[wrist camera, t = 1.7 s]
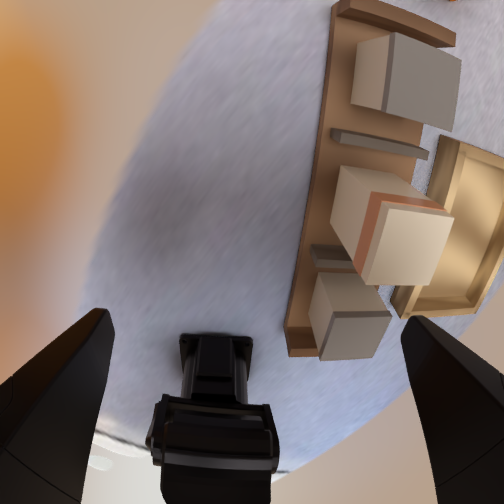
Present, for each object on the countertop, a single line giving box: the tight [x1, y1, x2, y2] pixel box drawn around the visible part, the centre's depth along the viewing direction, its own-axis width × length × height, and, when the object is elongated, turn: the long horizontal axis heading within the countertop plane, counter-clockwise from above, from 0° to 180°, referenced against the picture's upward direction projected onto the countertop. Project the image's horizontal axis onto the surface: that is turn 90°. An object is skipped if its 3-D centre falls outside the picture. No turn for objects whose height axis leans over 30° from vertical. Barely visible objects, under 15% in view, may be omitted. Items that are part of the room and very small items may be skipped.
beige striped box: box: [330, 165, 454, 285], centre depth 16 cm, size 4×4×7 cm
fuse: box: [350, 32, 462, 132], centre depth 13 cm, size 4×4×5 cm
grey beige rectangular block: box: [308, 272, 392, 361], centre depth 21 cm, size 4×4×5 cm
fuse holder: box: [284, 0, 456, 357], centre depth 19 cm, size 25×7×4 cm, turn 175°
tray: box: [390, 134, 504, 319], centre depth 21 cm, size 15×10×2 cm, turn 175°
